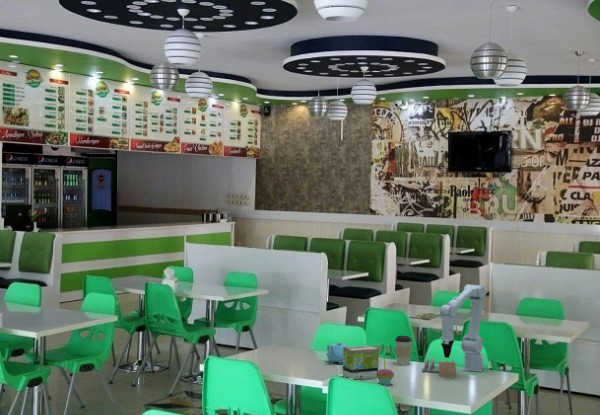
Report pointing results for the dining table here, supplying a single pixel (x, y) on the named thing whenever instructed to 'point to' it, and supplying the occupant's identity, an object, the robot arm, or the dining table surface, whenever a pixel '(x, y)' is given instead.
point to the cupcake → (385, 375)
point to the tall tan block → (447, 368)
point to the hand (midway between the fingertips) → (447, 356)
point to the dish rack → (431, 366)
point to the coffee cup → (403, 350)
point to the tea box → (360, 362)
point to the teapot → (336, 352)
